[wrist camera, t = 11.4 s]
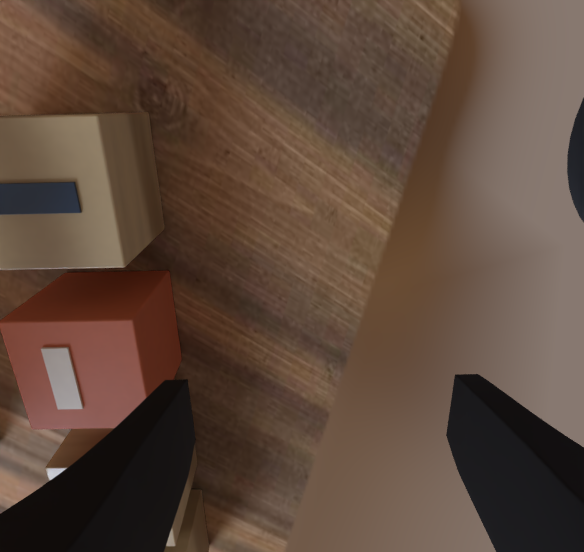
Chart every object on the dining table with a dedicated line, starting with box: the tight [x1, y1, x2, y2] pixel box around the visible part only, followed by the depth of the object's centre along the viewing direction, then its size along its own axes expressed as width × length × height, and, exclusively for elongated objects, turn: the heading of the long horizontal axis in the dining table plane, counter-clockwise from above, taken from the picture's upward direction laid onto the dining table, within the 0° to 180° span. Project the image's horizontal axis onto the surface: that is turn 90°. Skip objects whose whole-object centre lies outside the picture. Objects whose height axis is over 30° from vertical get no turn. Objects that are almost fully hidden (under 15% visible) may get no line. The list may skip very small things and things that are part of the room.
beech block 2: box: [46, 428, 198, 546], centre depth 21 cm, size 5×5×5 cm
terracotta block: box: [0, 271, 182, 430], centre depth 19 cm, size 5×5×5 cm
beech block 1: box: [0, 112, 165, 270], centre depth 16 cm, size 5×5×5 cm
